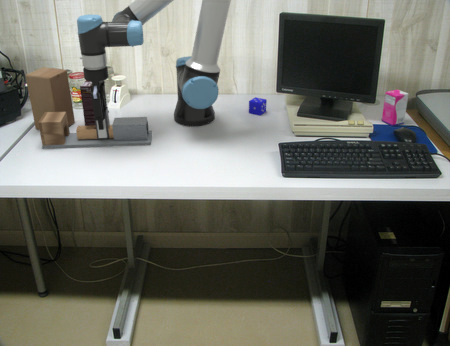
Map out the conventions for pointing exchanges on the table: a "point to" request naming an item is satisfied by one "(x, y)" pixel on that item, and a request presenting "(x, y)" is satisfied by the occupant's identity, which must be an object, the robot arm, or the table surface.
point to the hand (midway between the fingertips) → (103, 134)
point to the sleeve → (130, 129)
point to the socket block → (54, 128)
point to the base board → (97, 142)
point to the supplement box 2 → (394, 107)
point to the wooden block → (49, 93)
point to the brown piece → (95, 129)
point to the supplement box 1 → (87, 103)
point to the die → (257, 106)
